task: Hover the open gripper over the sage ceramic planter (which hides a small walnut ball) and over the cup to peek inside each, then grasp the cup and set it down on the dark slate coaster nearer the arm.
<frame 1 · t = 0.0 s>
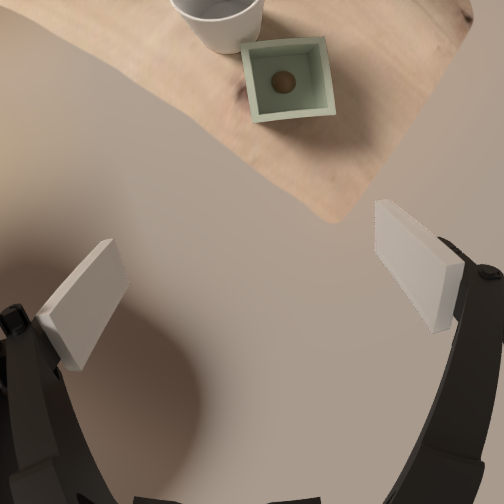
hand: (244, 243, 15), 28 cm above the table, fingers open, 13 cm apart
walnut ball: (282, 83, 35), point 1 cm above the table, touching planter
cup: (228, 26, 32), on the table
planter: (281, 83, 36), on the table
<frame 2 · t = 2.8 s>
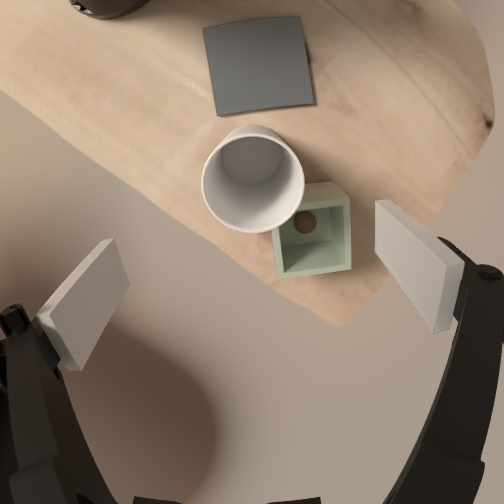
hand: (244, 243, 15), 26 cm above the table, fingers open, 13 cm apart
coaster: (258, 63, 33), on the table
walnut ball: (303, 218, 41), point 1 cm above the table, touching planter
cup: (252, 155, 39), on the table
planter: (302, 216, 42), on the table
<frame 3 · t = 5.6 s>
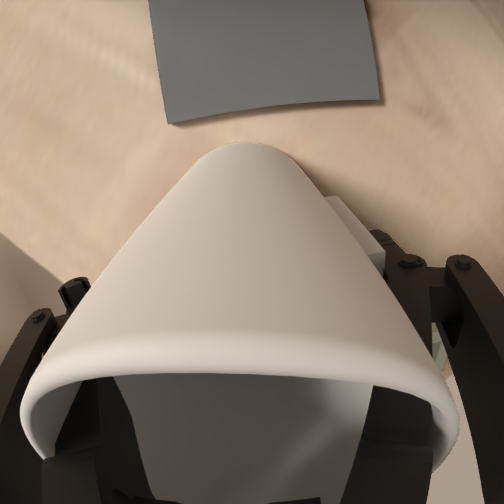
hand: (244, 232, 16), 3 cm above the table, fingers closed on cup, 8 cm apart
coaster: (259, 9, 13), on the table
cup: (245, 209, 19), on the table, touching gripper
planter: (339, 317, 22), on the table
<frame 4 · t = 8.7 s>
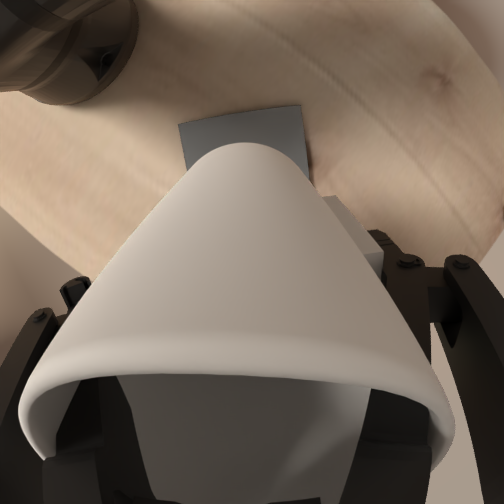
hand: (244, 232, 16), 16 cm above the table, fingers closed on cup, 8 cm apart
coaster: (248, 170, 31), on the table
cup: (245, 209, 19), point 13 cm above the table, touching gripper
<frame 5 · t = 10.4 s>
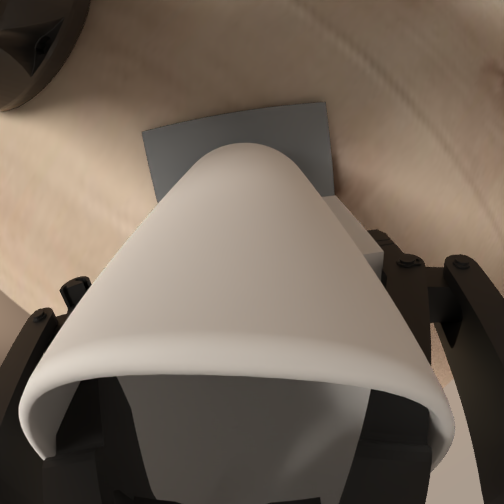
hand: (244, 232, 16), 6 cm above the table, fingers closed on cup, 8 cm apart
coaster: (246, 199, 21), on the table
cup: (245, 209, 19), point 3 cm above the table, touching gripper
when the fingers open (5 cm above the table, at t = 11.6 s): cup stays where it is, resting on coaster.
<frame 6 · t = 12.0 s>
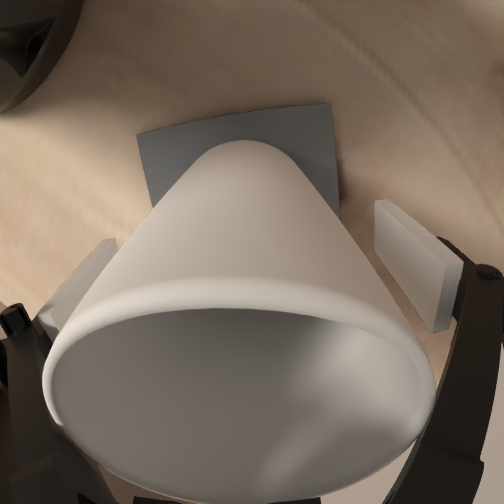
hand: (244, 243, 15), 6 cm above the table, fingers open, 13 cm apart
coaster: (246, 205, 20), on the table
cup: (244, 203, 20), resting on coaster
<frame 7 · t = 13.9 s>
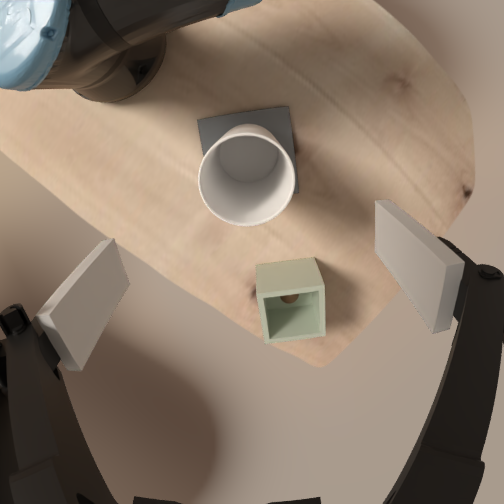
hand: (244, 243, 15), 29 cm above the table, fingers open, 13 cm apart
coaster: (249, 155, 41), on the table
walnut ball: (288, 288, 49), point 1 cm above the table, touching planter
cup: (248, 153, 40), resting on coaster
planter: (287, 285, 50), on the table
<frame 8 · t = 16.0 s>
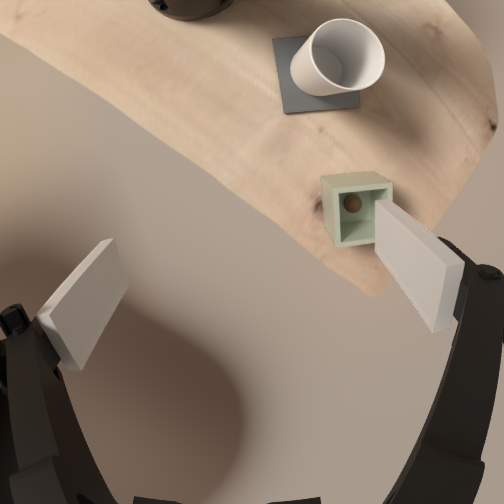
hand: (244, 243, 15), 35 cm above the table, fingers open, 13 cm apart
coaster: (317, 72, 41), on the table
walnut ball: (350, 200, 49), point 1 cm above the table, touching planter
cup: (317, 70, 40), resting on coaster
planter: (348, 199, 50), on the table
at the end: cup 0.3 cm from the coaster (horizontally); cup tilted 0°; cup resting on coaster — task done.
